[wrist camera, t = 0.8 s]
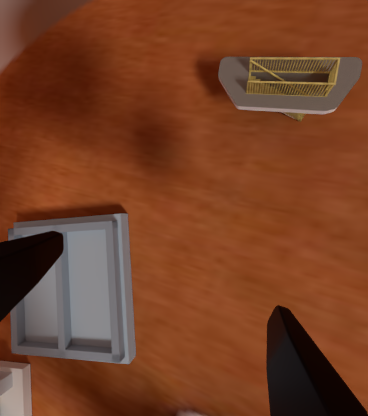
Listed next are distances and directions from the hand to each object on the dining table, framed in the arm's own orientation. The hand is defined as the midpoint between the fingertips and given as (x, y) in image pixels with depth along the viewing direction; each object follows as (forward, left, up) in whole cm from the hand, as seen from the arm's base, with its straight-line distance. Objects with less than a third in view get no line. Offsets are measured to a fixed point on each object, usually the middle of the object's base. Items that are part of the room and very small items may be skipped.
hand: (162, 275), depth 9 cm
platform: (+12, -7, -15) cm, 20 cm away
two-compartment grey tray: (-4, +16, -14) cm, 21 cm away
